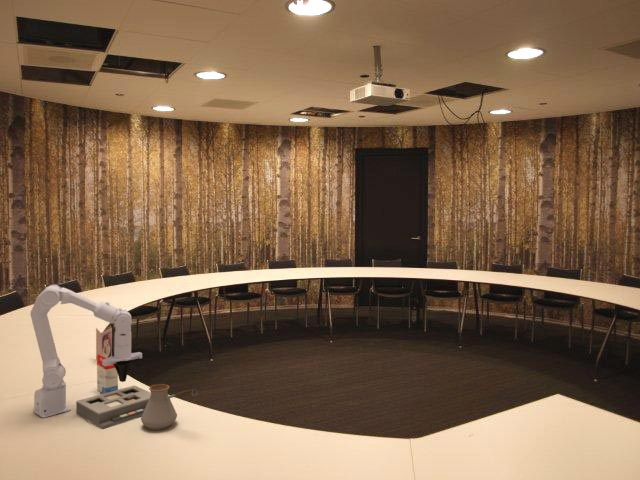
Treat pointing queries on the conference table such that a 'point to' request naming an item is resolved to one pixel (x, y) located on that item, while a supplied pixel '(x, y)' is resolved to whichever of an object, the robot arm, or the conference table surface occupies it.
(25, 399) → the conference table surface
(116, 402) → the key cream
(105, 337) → the open printed carton
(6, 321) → the conference table surface
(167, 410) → the coffee pot
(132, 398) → the key slate
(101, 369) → the ink box
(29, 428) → the conference table surface
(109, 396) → the key sand
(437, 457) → the conference table surface
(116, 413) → the grey sorting tray
